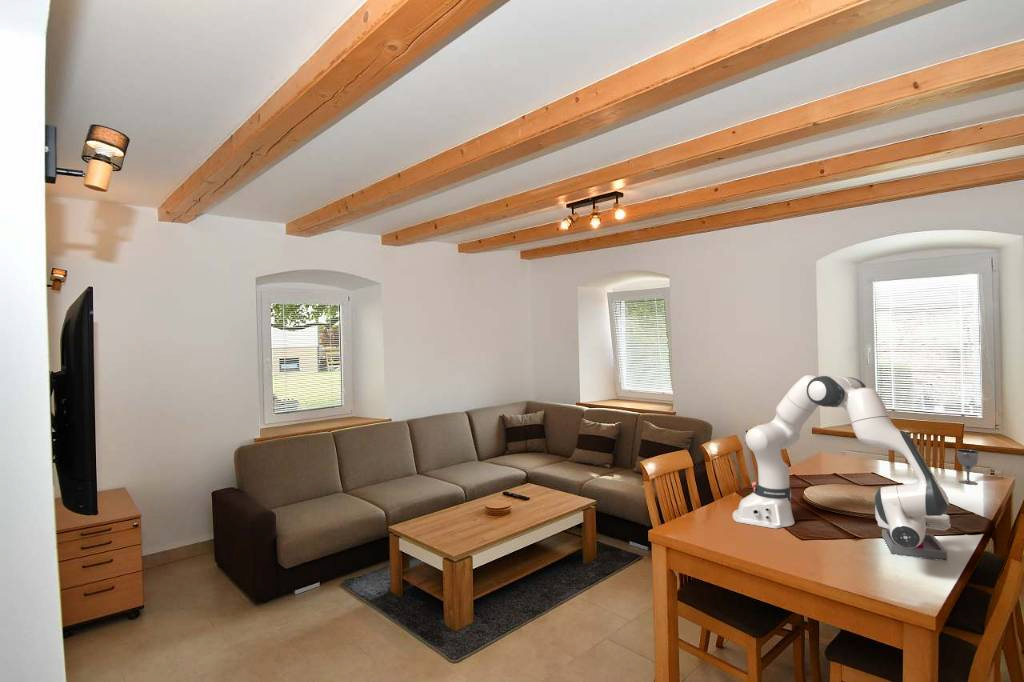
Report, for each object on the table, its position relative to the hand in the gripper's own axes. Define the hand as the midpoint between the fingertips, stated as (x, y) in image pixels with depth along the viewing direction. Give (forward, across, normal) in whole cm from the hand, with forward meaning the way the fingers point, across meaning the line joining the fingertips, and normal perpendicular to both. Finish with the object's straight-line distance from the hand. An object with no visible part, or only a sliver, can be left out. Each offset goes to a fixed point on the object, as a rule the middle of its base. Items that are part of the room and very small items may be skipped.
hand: (912, 510), depth 187 cm
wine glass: (+103, -15, +13) cm, 105 cm away
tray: (-1, 0, +13) cm, 13 cm away
